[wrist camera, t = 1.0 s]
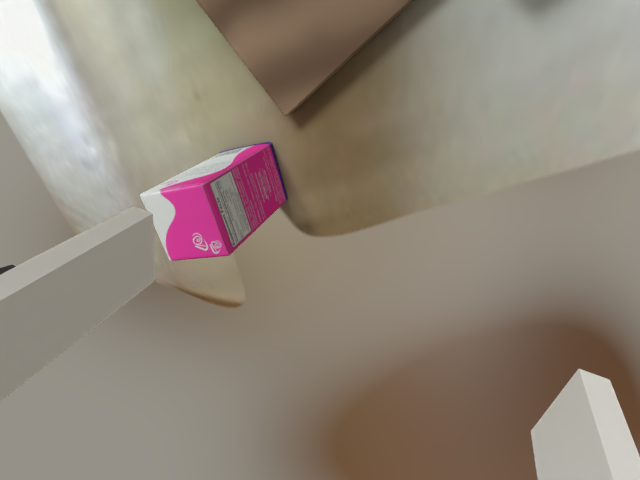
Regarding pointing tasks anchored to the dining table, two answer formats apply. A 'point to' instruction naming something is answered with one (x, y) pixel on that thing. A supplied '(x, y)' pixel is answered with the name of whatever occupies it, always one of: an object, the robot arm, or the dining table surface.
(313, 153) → the dining table surface
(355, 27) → the walnut board
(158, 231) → the supplement box
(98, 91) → the dining table surface
